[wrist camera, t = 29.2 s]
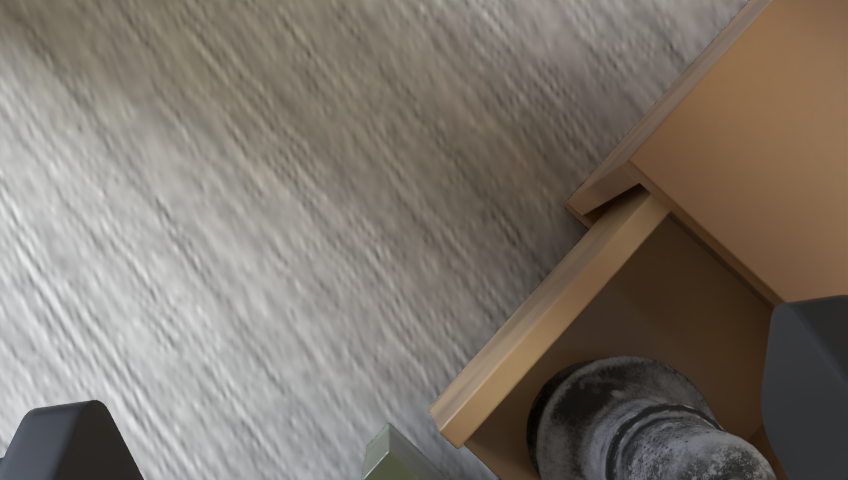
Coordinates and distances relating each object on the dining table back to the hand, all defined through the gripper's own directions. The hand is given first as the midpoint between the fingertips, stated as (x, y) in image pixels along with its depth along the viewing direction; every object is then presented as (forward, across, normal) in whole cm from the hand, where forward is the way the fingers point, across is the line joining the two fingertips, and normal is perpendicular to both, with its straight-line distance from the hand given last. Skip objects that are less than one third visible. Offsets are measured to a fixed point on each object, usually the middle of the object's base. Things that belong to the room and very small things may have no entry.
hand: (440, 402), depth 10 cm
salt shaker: (+13, -5, +15) cm, 21 cm away
